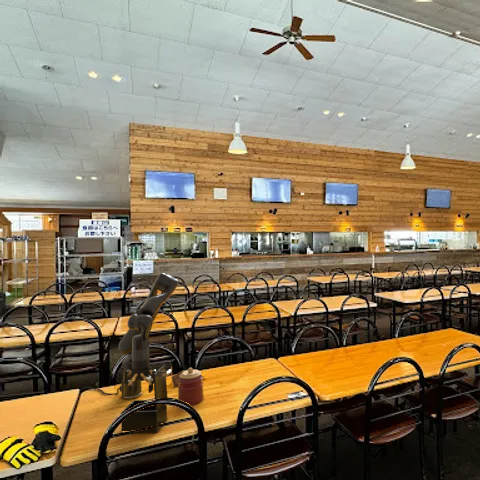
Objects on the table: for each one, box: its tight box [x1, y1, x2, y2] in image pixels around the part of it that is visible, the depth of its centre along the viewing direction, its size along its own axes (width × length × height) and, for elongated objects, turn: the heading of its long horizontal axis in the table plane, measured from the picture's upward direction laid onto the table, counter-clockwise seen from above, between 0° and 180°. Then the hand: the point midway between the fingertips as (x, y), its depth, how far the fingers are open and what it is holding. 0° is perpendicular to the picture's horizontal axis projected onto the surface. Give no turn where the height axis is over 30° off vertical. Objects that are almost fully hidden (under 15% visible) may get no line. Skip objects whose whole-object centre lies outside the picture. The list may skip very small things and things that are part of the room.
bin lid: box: [152, 364, 173, 410], centre depth 176 cm, size 16×13×5 cm
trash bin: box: [120, 399, 168, 435], centre depth 176 cm, size 16×13×10 cm
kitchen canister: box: [177, 367, 204, 406], centre depth 203 cm, size 13×13×18 cm
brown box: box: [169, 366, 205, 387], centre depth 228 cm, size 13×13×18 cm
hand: (141, 392), depth 176 cm, fingers open, 8 cm apart
